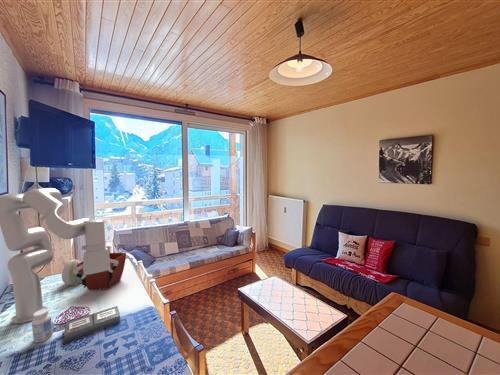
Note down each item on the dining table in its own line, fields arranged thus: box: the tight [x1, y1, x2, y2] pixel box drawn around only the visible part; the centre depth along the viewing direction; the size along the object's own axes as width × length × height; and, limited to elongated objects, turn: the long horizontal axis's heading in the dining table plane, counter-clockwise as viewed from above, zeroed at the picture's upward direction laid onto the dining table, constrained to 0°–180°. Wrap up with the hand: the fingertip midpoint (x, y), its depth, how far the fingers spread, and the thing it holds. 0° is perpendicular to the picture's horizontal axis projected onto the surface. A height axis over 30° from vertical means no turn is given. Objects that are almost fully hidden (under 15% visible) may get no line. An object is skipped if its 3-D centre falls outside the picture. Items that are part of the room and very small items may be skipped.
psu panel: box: [63, 305, 122, 343], centre depth 104 cm, size 20×10×3 cm, turn 126°
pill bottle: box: [31, 308, 54, 343], centre depth 97 cm, size 6×6×11 cm
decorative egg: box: [61, 259, 82, 286], centre depth 147 cm, size 12×12×15 cm
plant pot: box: [77, 252, 127, 291], centre depth 143 cm, size 19×19×17 cm
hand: (97, 283), depth 107 cm, fingers open, 9 cm apart
